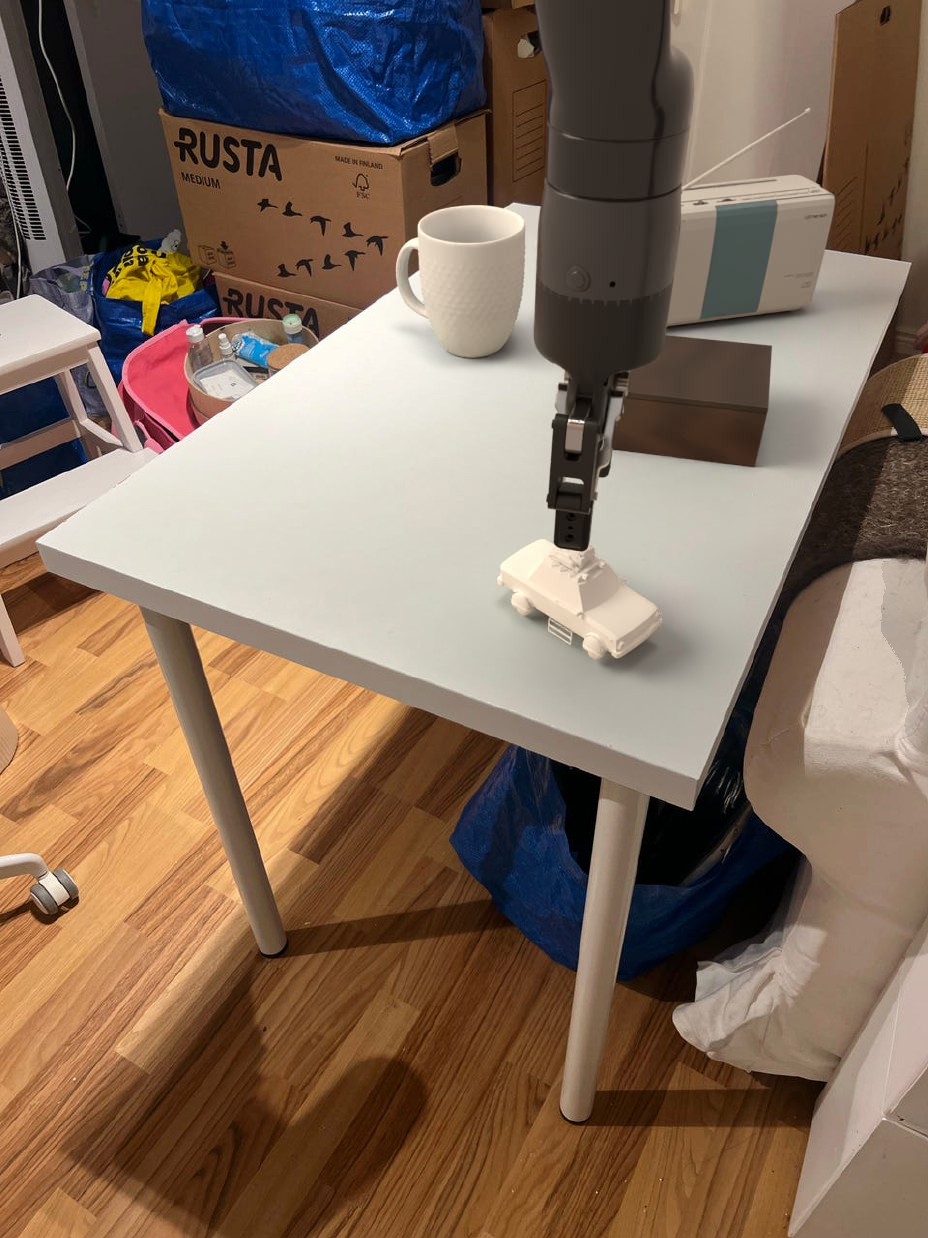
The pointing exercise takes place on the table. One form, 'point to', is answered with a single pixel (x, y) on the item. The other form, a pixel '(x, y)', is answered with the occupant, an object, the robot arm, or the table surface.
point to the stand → (698, 402)
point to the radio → (748, 245)
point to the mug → (467, 276)
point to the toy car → (579, 597)
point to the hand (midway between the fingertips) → (582, 508)
